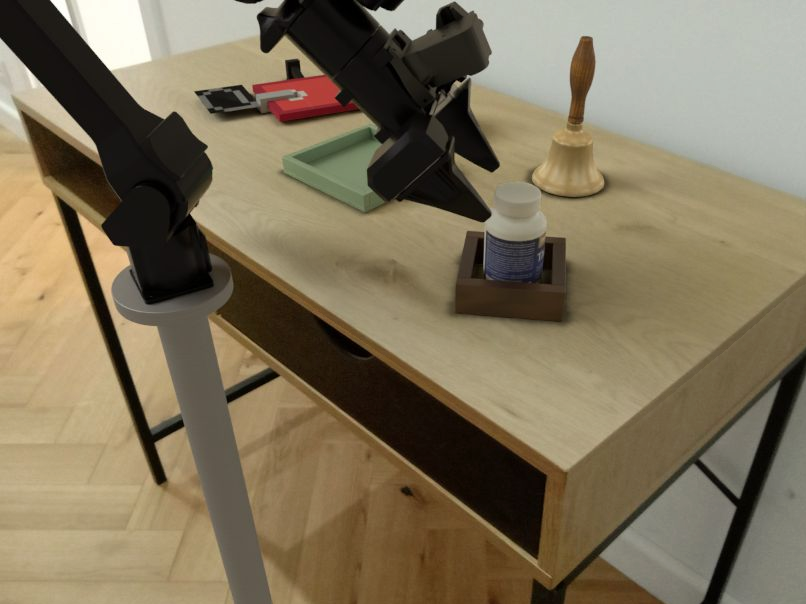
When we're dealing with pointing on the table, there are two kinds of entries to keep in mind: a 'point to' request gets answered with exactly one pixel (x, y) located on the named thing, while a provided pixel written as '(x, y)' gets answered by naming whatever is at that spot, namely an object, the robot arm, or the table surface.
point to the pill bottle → (515, 235)
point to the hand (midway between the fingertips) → (492, 192)
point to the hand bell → (573, 137)
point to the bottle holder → (511, 285)
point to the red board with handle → (280, 96)
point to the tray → (339, 167)
